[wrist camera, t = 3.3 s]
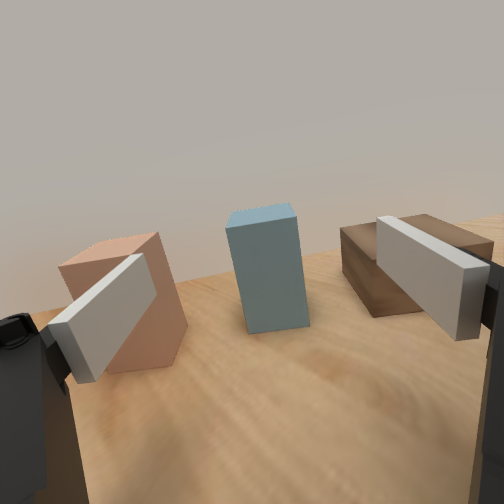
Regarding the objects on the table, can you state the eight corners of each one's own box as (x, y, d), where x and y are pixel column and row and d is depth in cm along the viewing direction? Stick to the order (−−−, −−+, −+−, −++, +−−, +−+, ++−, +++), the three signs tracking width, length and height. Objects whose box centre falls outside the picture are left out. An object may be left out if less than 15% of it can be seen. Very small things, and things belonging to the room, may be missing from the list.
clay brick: (187, 325, 30) (157, 231, 26) (171, 366, 24) (130, 254, 21) (136, 332, 31) (99, 241, 27) (109, 373, 25) (57, 266, 21)
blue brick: (300, 294, 32) (288, 202, 28) (309, 326, 26) (296, 216, 22) (250, 301, 32) (231, 212, 28) (248, 334, 27) (225, 228, 23)
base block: (423, 260, 34) (425, 213, 32) (484, 302, 25) (494, 241, 23) (342, 271, 35) (339, 227, 33) (373, 317, 26) (372, 259, 23)
